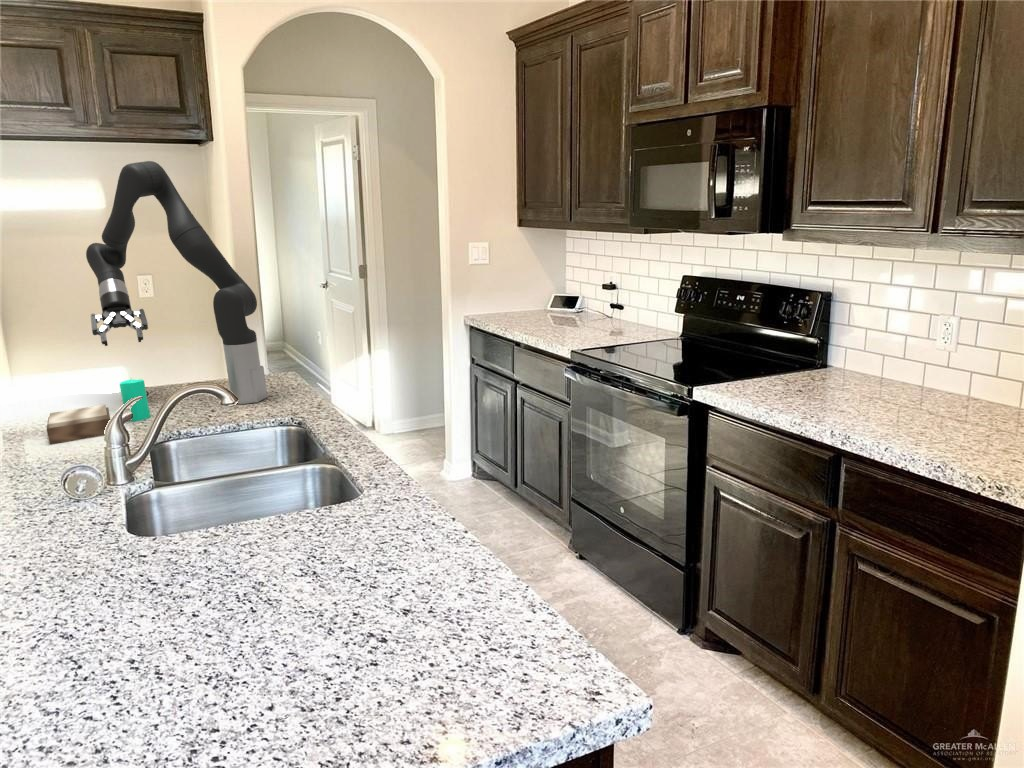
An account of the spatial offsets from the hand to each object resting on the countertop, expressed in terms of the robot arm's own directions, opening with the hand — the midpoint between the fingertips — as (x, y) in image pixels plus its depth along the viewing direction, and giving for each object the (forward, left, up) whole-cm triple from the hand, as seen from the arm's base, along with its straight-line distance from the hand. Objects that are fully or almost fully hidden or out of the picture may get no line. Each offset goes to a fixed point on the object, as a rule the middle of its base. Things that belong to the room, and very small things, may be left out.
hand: (123, 342), depth 213 cm
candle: (-8, +9, -20) cm, 23 cm away
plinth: (-1, +22, -20) cm, 29 cm away
